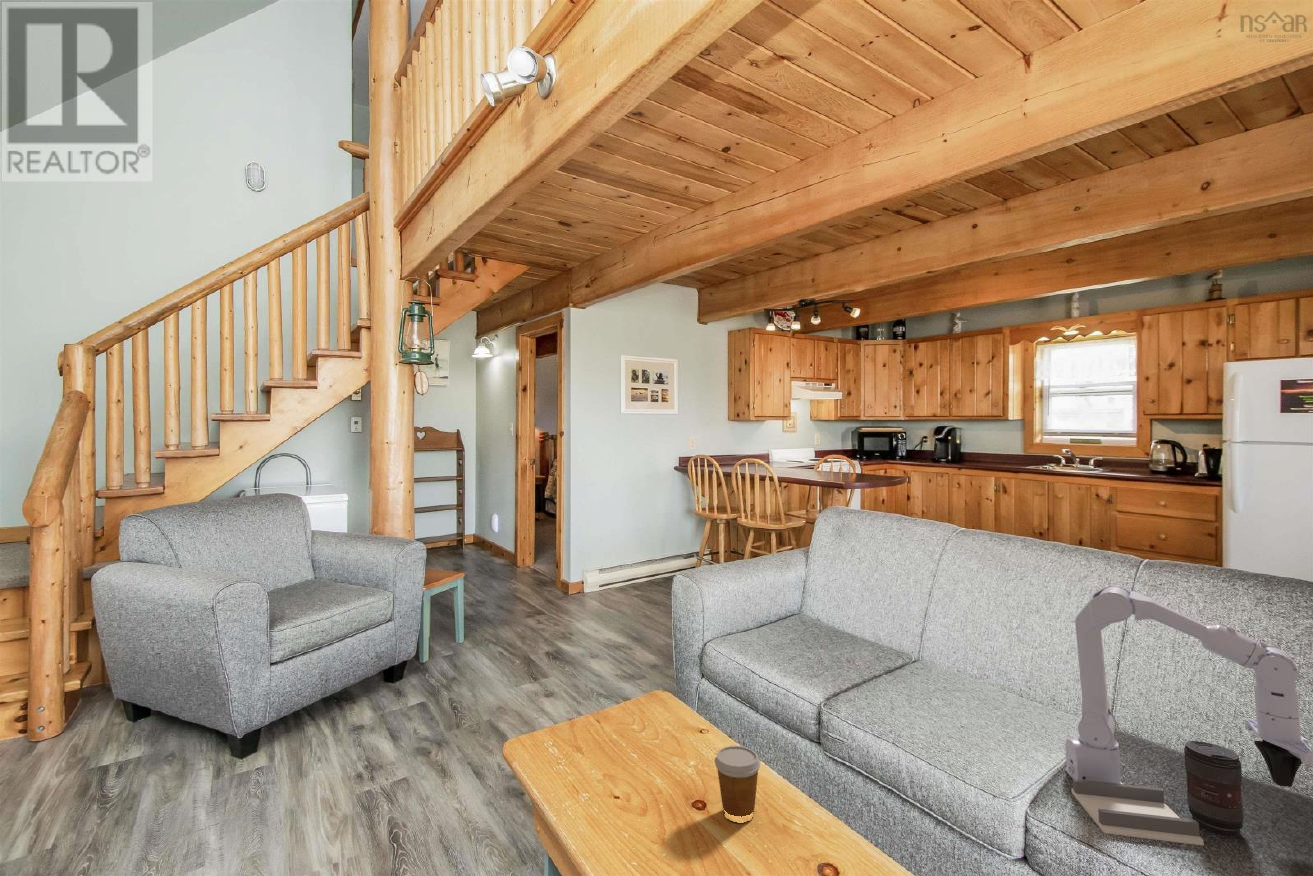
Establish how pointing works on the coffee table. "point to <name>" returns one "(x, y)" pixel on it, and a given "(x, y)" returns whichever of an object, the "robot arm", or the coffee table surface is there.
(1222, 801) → the dark patterned cylinder
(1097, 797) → the lens cradle
